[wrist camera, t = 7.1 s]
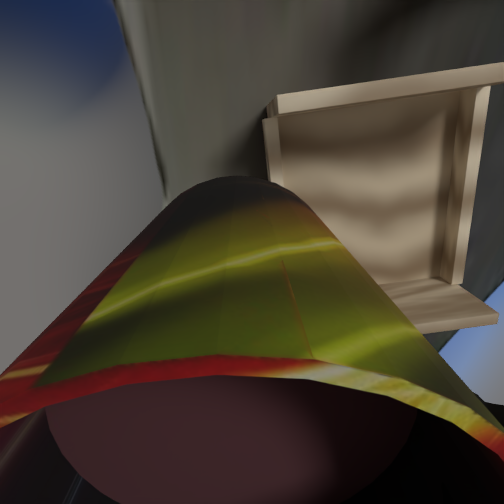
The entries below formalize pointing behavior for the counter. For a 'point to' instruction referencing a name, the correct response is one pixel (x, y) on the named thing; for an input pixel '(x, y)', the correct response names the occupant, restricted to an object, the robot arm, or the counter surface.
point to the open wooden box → (393, 180)
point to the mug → (240, 375)
